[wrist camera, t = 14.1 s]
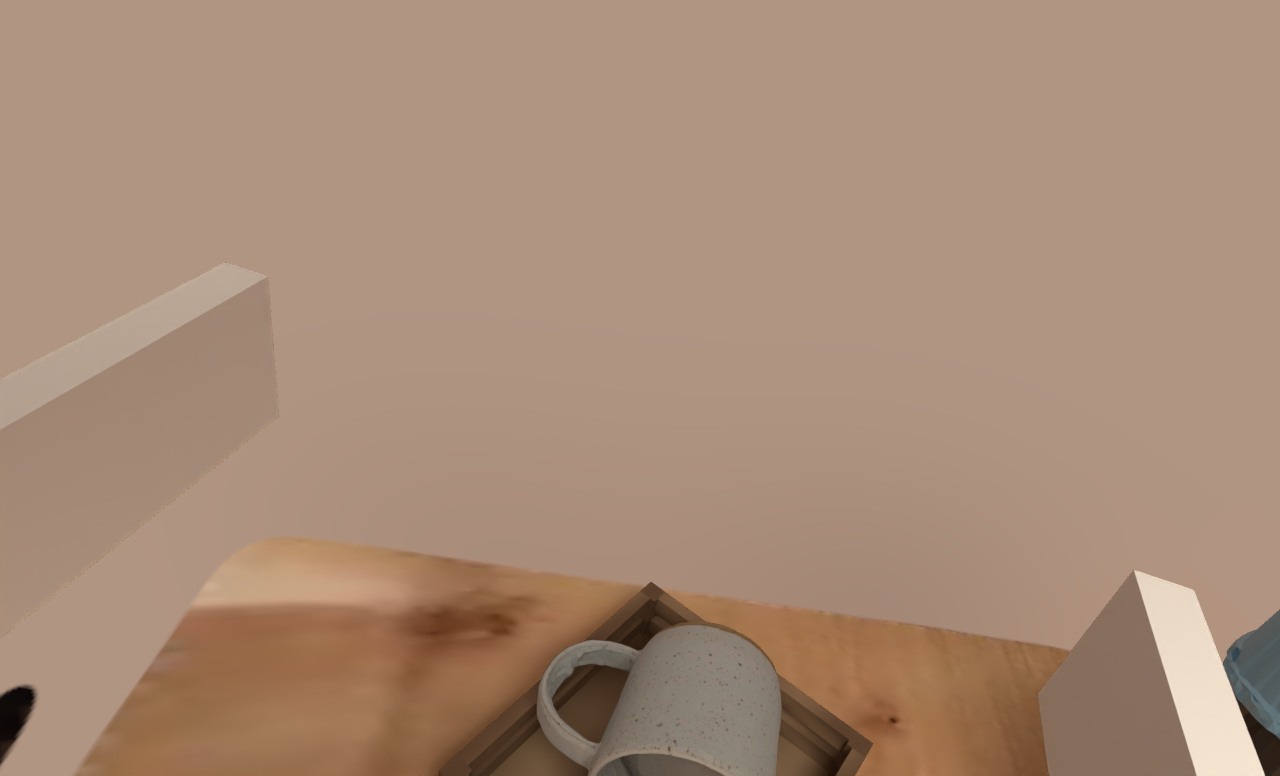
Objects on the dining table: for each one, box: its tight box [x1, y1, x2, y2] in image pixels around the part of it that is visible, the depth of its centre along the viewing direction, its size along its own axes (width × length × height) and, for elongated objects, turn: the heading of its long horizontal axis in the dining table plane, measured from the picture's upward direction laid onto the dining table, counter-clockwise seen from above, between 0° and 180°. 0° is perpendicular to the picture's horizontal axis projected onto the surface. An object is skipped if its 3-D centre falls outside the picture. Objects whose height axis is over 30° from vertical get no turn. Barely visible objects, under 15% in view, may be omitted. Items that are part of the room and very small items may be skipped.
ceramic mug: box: [537, 622, 782, 776], centre depth 36 cm, size 11×8×8 cm
